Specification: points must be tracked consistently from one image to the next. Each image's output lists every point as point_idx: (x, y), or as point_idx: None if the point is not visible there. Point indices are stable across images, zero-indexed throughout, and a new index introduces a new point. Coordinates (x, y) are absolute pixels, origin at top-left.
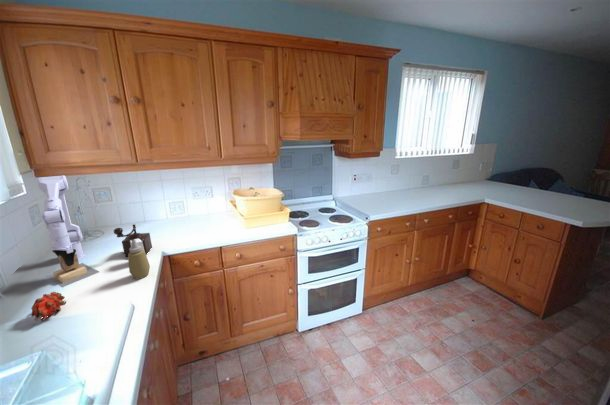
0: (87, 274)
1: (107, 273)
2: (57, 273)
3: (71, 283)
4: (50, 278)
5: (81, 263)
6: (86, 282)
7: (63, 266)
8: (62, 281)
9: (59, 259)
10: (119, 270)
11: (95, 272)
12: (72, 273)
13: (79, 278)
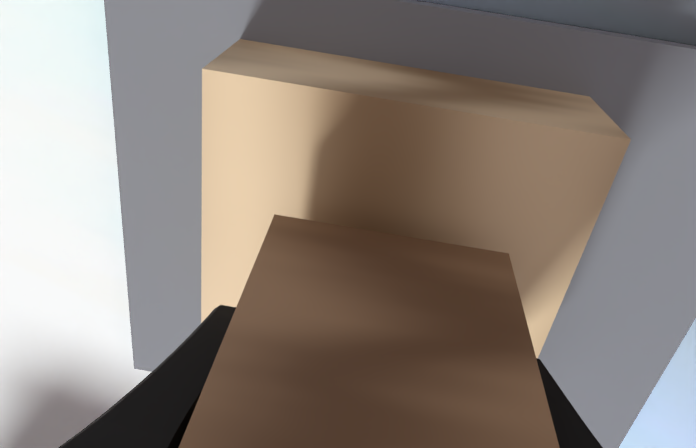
0: (200, 295)
1: (55, 368)
2: (463, 134)
3: (112, 80)
4: (654, 56)
5: (615, 441)
6: (18, 178)
7: (331, 279)
8: (245, 47)
9: (498, 431)
10: (20, 429)
11: (164, 348)
12: (204, 221)
13: (178, 205)
